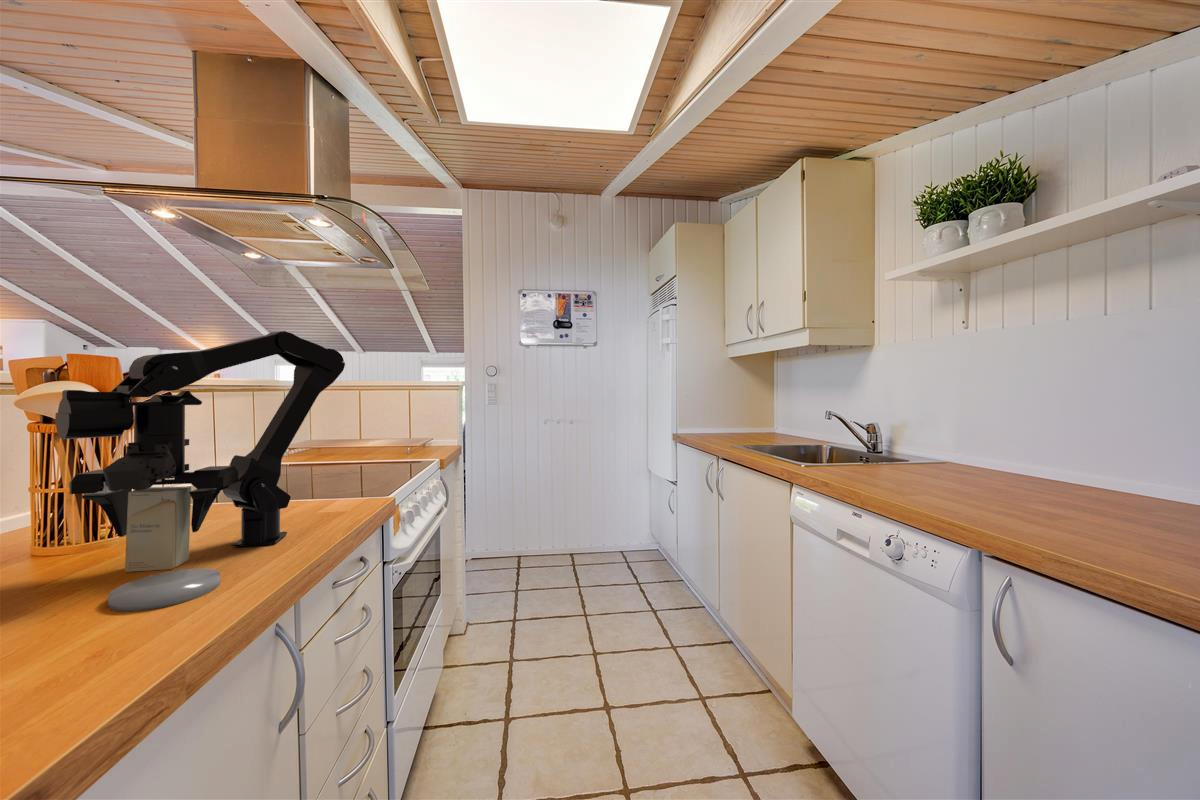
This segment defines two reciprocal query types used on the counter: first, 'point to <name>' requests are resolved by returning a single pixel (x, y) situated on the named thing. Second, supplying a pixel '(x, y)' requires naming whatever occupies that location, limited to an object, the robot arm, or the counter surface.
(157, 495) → the skincare box
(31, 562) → the counter surface
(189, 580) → the coaster
